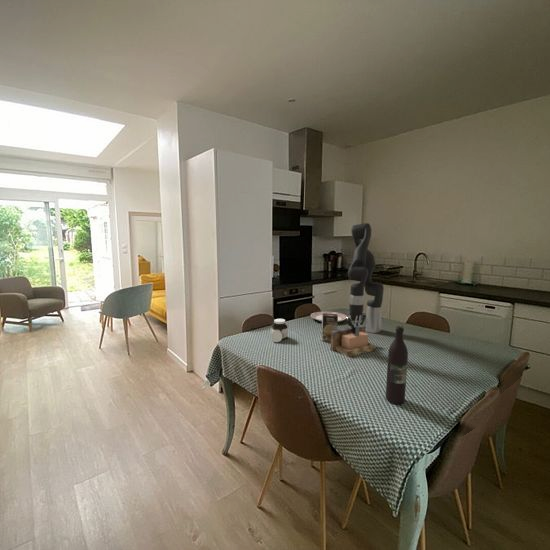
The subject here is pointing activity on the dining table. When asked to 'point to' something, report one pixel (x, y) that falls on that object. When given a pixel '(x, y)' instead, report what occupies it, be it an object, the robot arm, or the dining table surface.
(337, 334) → the brown grey open box
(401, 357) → the wine bottle
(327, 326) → the coffee box
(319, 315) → the dinner plate
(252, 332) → the dining table surface
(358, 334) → the tan box with handle
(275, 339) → the spread jar
